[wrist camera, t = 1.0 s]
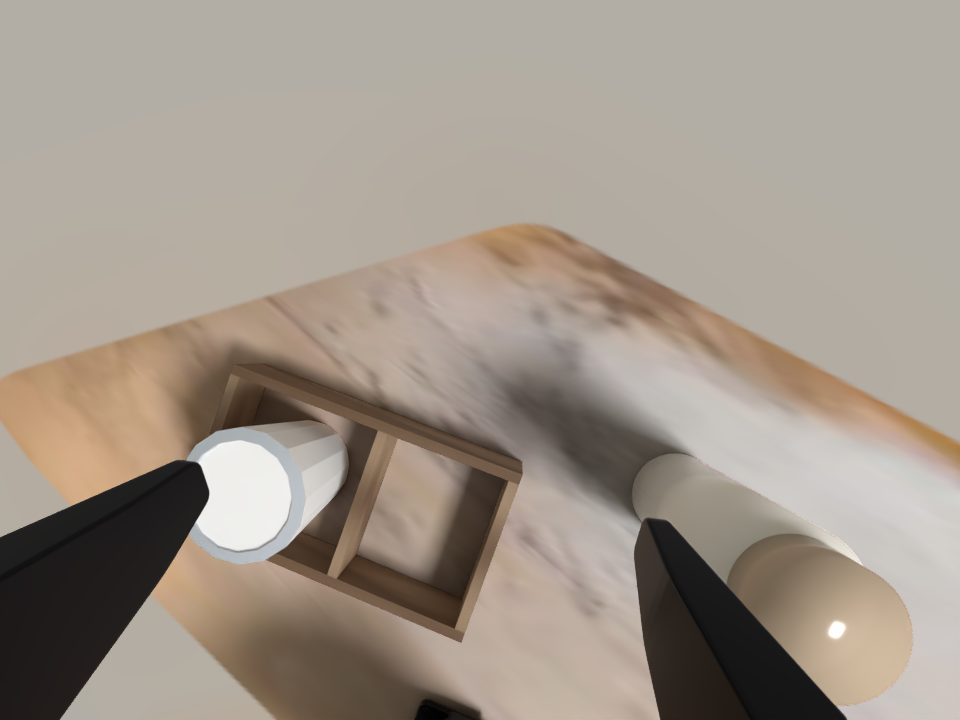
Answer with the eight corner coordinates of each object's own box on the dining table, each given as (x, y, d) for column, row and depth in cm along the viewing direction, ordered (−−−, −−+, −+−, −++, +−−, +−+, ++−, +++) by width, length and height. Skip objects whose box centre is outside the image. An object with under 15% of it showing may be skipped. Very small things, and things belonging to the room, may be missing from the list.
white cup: (334, 531, 28) (272, 589, 21) (243, 487, 28) (154, 529, 21) (374, 436, 28) (325, 463, 21) (282, 393, 28) (205, 405, 21)
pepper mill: (702, 551, 26) (889, 747, 13) (619, 519, 26) (718, 677, 13) (733, 471, 25) (954, 586, 13) (649, 440, 26) (779, 521, 13)
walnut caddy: (467, 611, 27) (461, 642, 24) (215, 506, 28) (179, 523, 25) (522, 461, 27) (522, 474, 24) (264, 363, 28) (233, 364, 25)
